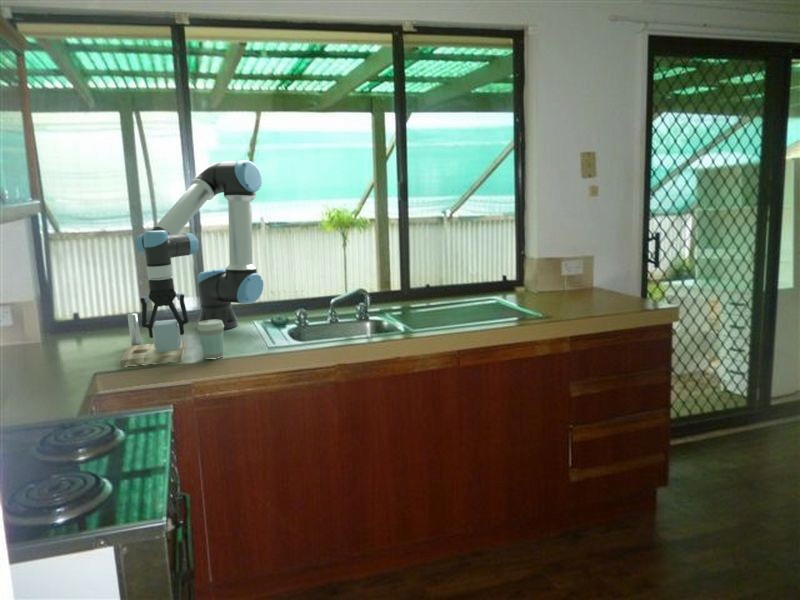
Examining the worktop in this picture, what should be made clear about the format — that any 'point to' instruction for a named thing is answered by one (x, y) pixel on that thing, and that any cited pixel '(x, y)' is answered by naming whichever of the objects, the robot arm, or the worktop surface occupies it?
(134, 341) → the peg
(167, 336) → the block
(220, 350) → the coffee cup
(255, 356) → the worktop surface
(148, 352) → the board
